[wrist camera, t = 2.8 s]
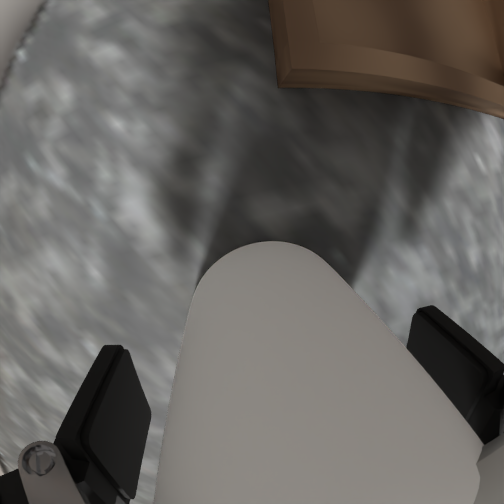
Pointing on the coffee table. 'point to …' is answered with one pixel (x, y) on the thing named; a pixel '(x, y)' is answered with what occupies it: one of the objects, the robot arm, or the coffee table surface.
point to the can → (304, 396)
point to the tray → (394, 48)
